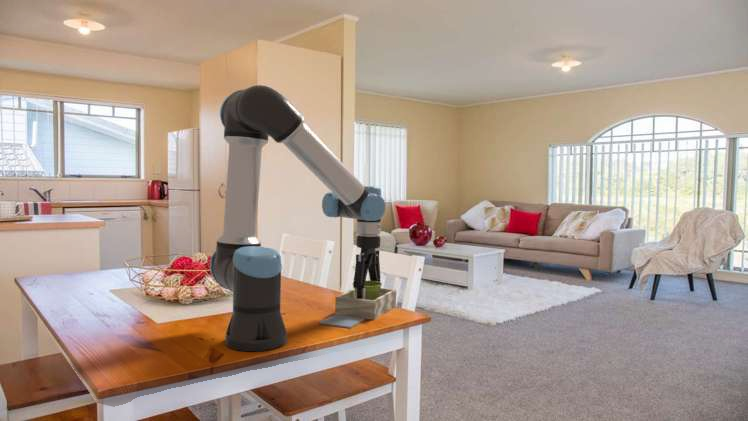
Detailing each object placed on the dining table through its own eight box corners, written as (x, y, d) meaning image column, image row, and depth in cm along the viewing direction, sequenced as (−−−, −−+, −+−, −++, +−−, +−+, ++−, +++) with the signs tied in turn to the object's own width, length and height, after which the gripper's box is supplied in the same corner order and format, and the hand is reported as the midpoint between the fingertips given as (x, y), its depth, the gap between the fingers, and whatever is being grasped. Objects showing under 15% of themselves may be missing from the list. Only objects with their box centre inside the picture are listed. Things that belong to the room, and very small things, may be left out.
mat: (350, 328, 147) (350, 326, 147) (318, 323, 150) (318, 322, 150) (364, 319, 156) (364, 318, 156) (334, 315, 160) (334, 314, 160)
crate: (374, 319, 156) (375, 301, 156) (335, 314, 161) (335, 296, 161) (395, 306, 174) (396, 289, 174) (359, 301, 179) (360, 285, 179)
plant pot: (355, 314, 162) (356, 286, 161) (349, 307, 171) (349, 280, 170) (385, 313, 164) (385, 285, 164) (376, 306, 173) (377, 279, 173)
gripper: (365, 239, 155) (364, 314, 156) (391, 232, 175) (389, 299, 176) (342, 237, 157) (341, 311, 159) (370, 231, 178) (369, 297, 179)
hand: (366, 305), depth 168 cm, fingers closed on plant pot, 9 cm apart
